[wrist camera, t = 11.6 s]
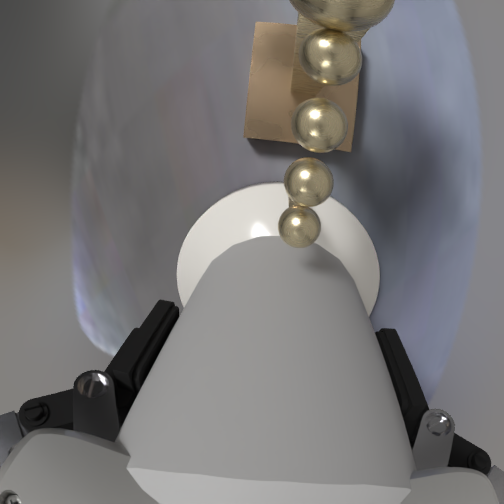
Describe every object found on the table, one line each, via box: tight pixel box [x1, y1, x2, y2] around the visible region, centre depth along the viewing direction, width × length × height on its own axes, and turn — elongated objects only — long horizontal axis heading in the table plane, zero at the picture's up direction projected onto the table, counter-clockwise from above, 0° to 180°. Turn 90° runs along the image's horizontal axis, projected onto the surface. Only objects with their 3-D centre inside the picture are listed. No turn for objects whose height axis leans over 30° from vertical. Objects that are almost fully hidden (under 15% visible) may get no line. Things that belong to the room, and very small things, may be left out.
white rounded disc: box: [177, 181, 380, 316], centre depth 16 cm, size 11×11×1 cm
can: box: [115, 236, 416, 504], centre depth 8 cm, size 8×8×12 cm
